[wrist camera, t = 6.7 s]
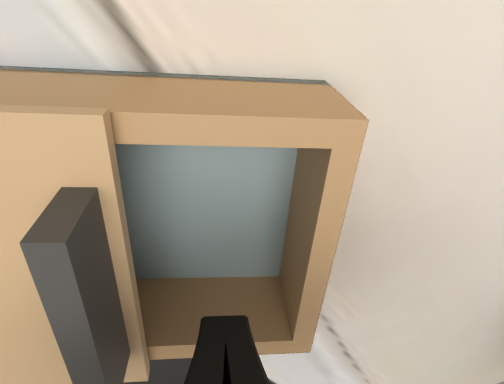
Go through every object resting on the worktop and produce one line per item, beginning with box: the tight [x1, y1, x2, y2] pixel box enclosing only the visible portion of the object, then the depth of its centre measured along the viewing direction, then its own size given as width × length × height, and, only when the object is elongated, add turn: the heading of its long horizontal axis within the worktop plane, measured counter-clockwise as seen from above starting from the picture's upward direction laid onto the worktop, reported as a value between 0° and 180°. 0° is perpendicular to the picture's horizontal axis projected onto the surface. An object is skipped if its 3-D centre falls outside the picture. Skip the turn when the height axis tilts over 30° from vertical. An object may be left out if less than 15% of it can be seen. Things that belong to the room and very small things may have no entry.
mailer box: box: [0, 66, 369, 360], centre depth 15 cm, size 20×12×5 cm, turn 87°
